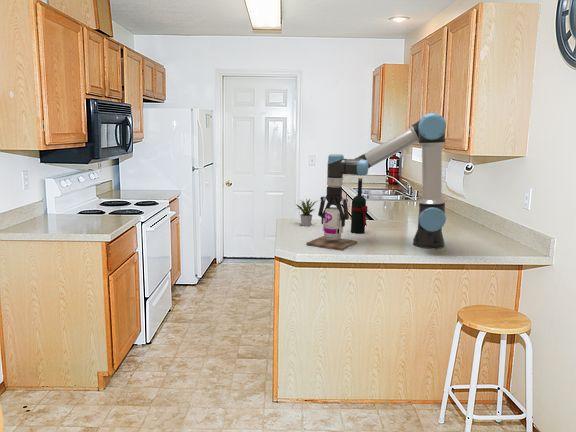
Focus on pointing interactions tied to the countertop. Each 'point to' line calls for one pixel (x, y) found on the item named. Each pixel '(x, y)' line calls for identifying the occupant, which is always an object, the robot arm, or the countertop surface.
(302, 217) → the house plant
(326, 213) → the supplement can
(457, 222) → the countertop surface
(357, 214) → the wine bottle
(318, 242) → the walnut board
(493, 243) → the countertop surface
